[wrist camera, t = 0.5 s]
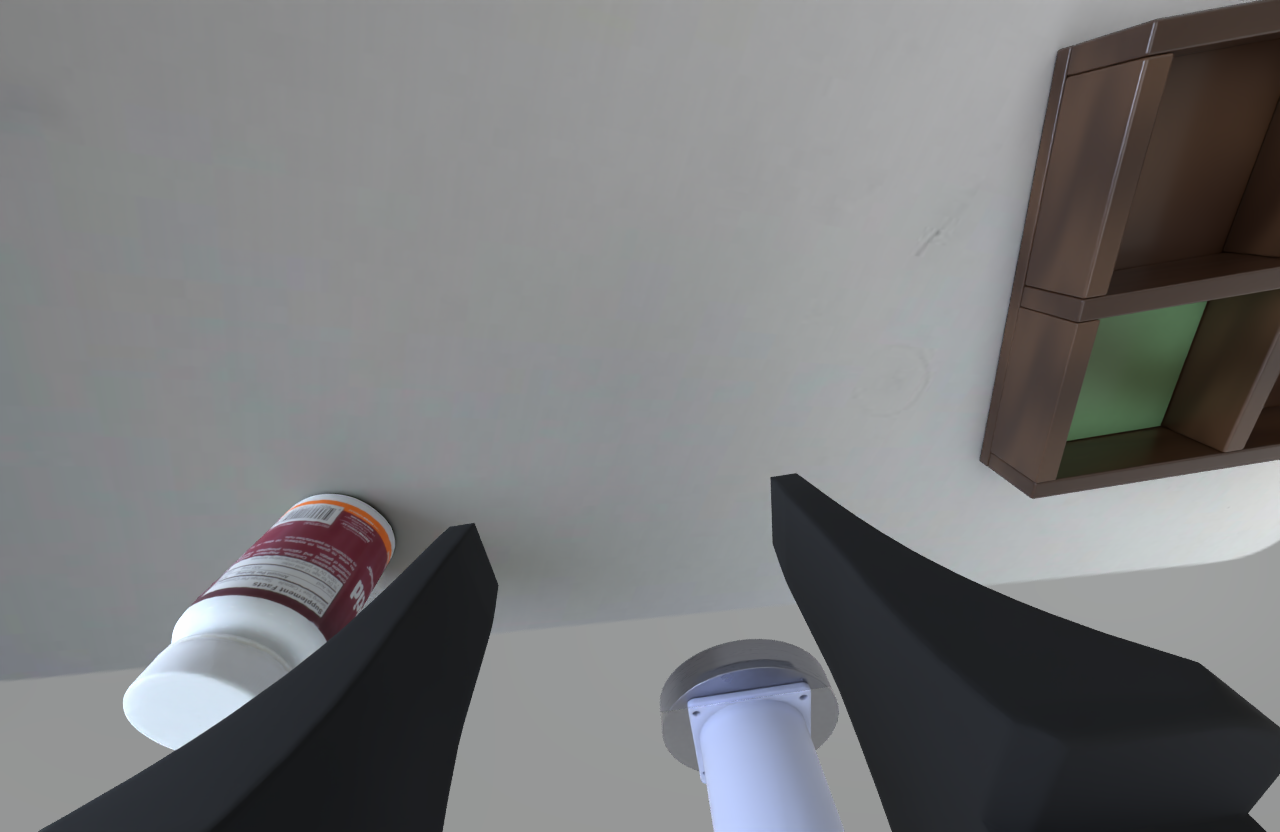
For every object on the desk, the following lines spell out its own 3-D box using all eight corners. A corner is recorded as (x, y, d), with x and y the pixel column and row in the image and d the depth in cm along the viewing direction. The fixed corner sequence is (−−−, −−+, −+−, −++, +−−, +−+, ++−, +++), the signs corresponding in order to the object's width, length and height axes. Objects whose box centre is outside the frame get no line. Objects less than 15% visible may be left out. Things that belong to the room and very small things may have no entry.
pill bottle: (371, 586, 23) (252, 782, 15) (271, 542, 21) (86, 733, 14) (417, 523, 21) (309, 705, 14) (313, 471, 20) (130, 642, 12)
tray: (1320, 406, 21) (1424, 437, 18) (978, 460, 21) (1031, 500, 19) (1560, -41, 14) (1779, -95, 12) (1057, 50, 15) (1156, 18, 12)
